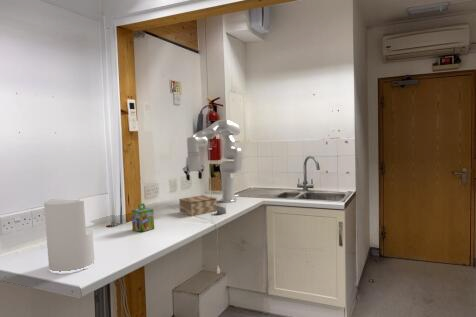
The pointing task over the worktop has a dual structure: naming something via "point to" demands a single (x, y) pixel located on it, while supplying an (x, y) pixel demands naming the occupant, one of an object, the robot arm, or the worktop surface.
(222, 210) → the grey knob post
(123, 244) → the worktop surface
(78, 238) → the cylinder
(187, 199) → the lid
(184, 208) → the storage box
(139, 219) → the green lunch box
